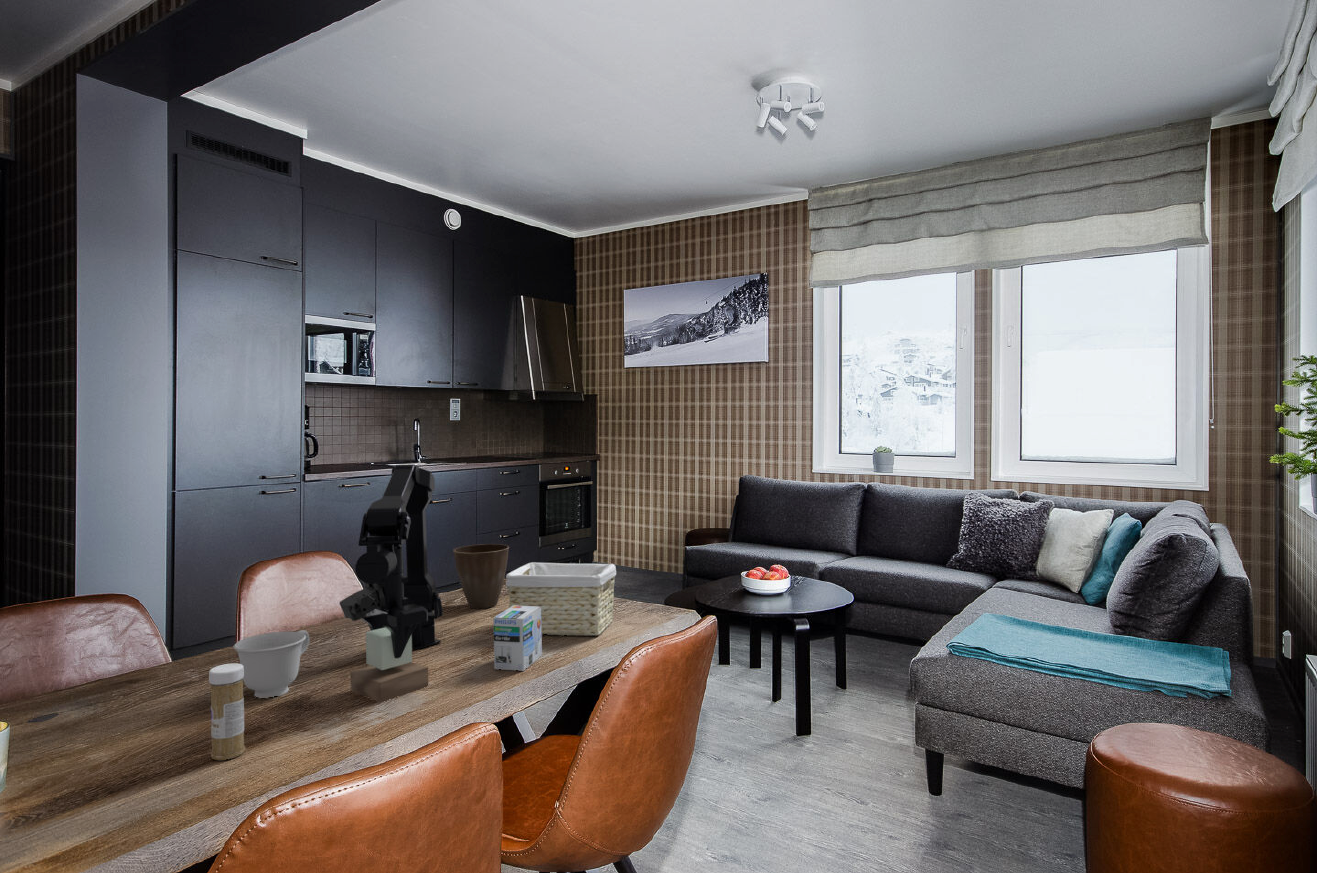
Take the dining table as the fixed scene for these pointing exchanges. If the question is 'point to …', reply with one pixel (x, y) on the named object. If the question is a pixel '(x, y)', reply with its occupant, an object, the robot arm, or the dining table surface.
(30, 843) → the dining table surface
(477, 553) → the plant pot
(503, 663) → the light bulb box
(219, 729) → the sprinkles bottle
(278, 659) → the teacup
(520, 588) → the storage basket
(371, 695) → the walnut block
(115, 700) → the dining table surface
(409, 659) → the sage cube
